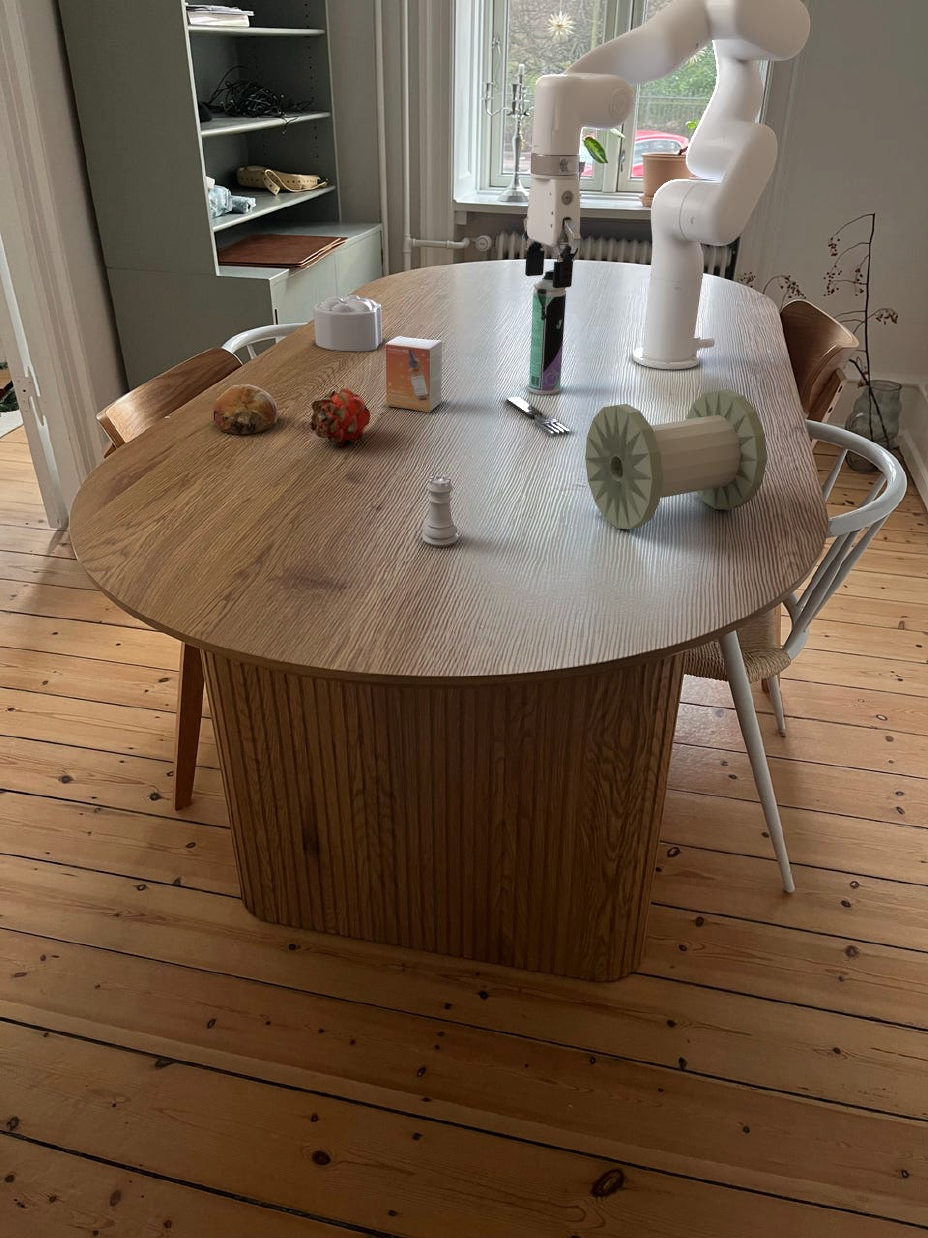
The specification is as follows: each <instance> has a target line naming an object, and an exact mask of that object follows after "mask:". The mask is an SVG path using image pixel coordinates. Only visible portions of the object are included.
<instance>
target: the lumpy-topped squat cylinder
mask: <svg viewBox="0 0 928 1238" xmlns="http://www.w3.org/2000/svg"><path fill="white" fill-rule="evenodd" d="M313 322H314V323H313V324H314V338H315V345H316V346H318V347H320V348H323V349H327V350H331V351H338V352H339V351H342V352H370V351H375V350H377V348H378V346H379V345H380V344H382V343H383V332H382V331H383V327H382V323H383V322H382V305H381V304H380V303H378V302H374V300H373V299H370V298H363V297H361V298H360V297H359V296H358V295H355V294H348V295H346V296H344V297H343V298H341V297H339V296H330V297H328V298H327V299H326V300H325V301H324V302H322V301H320V302H319V303H317V304H315V305H314V306H313Z"/></svg>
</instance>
